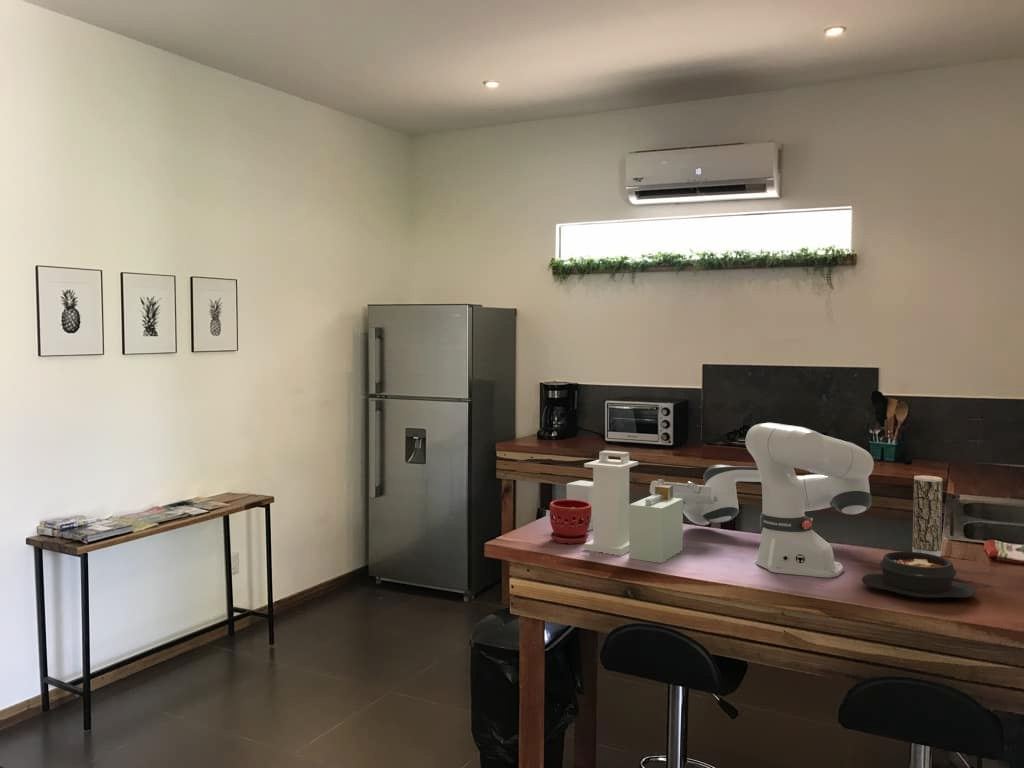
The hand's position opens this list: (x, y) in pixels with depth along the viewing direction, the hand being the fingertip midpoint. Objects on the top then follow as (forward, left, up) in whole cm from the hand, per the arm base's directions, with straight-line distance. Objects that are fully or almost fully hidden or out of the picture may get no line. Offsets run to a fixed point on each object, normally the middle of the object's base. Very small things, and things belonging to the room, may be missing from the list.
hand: (674, 482), depth 244 cm
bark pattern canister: (-68, -9, -19) cm, 71 cm away
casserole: (-68, +15, -19) cm, 73 cm away
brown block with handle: (0, +14, -3) cm, 15 cm away
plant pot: (+29, +14, -19) cm, 37 cm away
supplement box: (+34, -5, -19) cm, 39 cm away
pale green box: (0, +15, -19) cm, 24 cm away
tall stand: (+14, +16, -19) cm, 28 cm away
